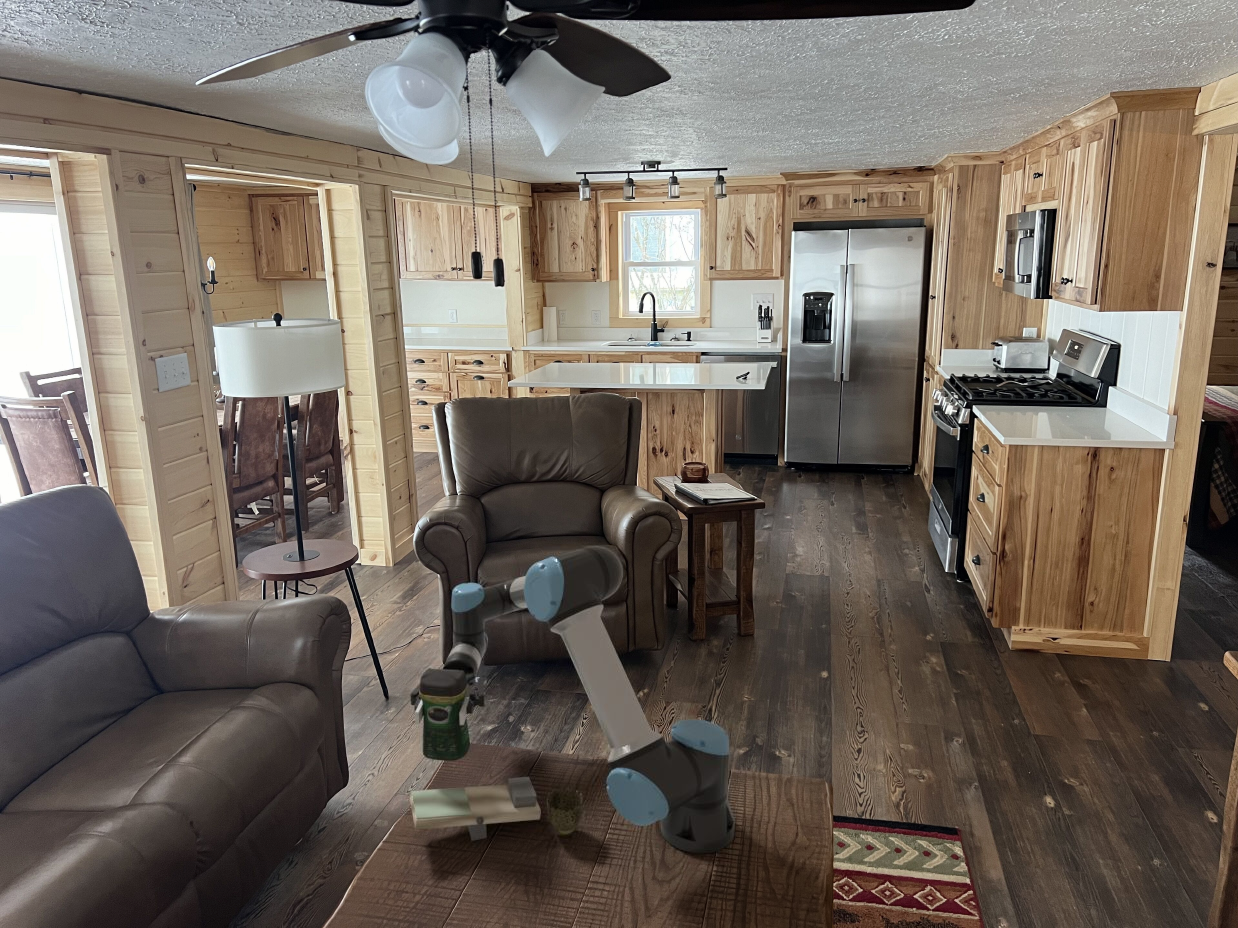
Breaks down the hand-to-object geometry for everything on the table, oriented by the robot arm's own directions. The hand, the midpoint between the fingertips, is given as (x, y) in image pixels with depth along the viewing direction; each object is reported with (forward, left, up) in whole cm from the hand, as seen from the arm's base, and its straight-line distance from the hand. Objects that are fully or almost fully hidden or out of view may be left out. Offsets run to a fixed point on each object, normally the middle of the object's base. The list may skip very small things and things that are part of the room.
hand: (439, 718), depth 175 cm
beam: (-6, -6, -18) cm, 19 cm away
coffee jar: (+4, -2, -11) cm, 12 cm away
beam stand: (-6, -6, -23) cm, 24 cm away
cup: (-13, -23, -23) cm, 35 cm away
